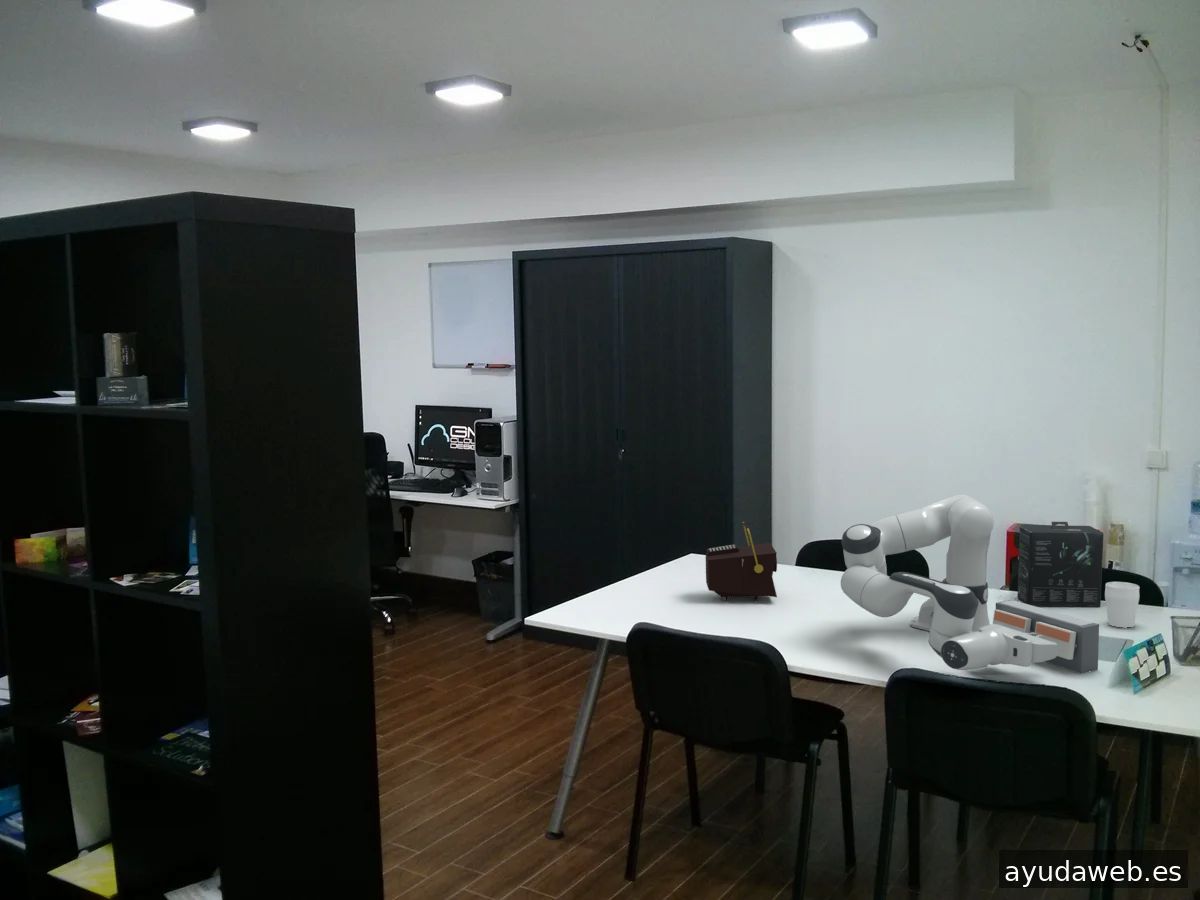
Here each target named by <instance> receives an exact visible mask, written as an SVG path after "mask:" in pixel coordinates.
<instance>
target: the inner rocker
mask: <svg viewBox="0 0 1200 900" xmlns="http://www.w3.org/2000/svg"><path fill="white" fill-rule="evenodd" d="M993 612H994V613H993V618H992V624H998V625H1001V626H1004V627H1007V628H1010V629H1014V630H1017V631H1020V632H1023V633H1032V631H1030V626H1031V619H1029V618H1026V617H1022V616H1019V615H1015V614H1012V613H1009V612H1005V611H1002V610H996V609H994V611H993Z"/></svg>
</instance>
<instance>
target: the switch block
mask: <svg viewBox="0 0 1200 900" xmlns="http://www.w3.org/2000/svg"><path fill="white" fill-rule="evenodd" d="M995 610H1002V611H1005V612H1009V613H1012V614H1015V615H1019V616H1022V617H1026V618H1029V619H1031V626H1030V631H1032V633H1033V632H1034V633H1035V628H1036V622H1043V623H1046V624H1050V625H1053V626H1056V627H1060V628H1063V629H1067V630H1070V631H1074V632H1076V639H1075V644H1076V645H1077V648H1075V647H1074V653H1073V659H1070V660H1068V659H1065V658H1062V657H1059V656H1056V658H1054V659H1051V660H1048V661H1044V663H1045V662H1046V663H1047V664H1051V665H1054V666H1057V667H1059V668H1060V667H1061V668H1063V669H1066V670H1069V671H1072V672H1075V673H1078V674H1081V675H1083V674H1086V672H1087V673H1090V672H1089V671H1091V672H1093V671H1094V670H1095V671H1098V670H1099V639H1100V623H1095V622H1094V621H1090V620H1085V619H1083V618H1078V617H1075V616H1072V615H1067V614H1065V613H1064V614H1063V613H1061V612H1057V611H1053V610H1049V609H1046V608H1042V607H1040V606H1032V605H1028V604H1025V603H1023V602H1022V601H1016V600H1013V599H1010V600H1004V601H1000V602H995ZM1095 671H1094V672H1095ZM1082 673H1083V674H1082Z"/></svg>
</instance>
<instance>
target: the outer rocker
mask: <svg viewBox="0 0 1200 900" xmlns="http://www.w3.org/2000/svg"><path fill="white" fill-rule="evenodd" d="M1035 633H1037V634H1040V635H1043V636H1044V639H1045V640H1048V641H1052V642H1055V643H1056V644H1057V656H1059V657H1062V658H1065V659H1068V660H1070V659H1073V653H1074V647H1075V648H1077V645H1076V644H1075V639H1076V632H1074V631H1070V630H1067V629H1063V628H1060V627H1056V626H1053V625H1050V624H1046V623H1043V622H1036V628H1035Z"/></svg>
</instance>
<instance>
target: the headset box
mask: <svg viewBox="0 0 1200 900" xmlns="http://www.w3.org/2000/svg"><path fill="white" fill-rule="evenodd" d="M1018 539H1019V543H1018V567H1017V569H1018V571H1017V599H1018V600H1019V601H1020V602H1021V603H1025V604H1028V605H1032V606H1035V607H1075V606H1078V607H1081V608H1083V607H1084V608H1101V603H1102V600H1101V599H1102V578H1103V577H1102V575H1103V557H1104V556H1103V555H1104V554H1103V553H1104V532H1103V531H1101V530H1099V529H1096V528H1094V527H1093V526H1091V525H1069V523H1068V521H1051V525H1050V524H1049V525H1046V524H1036V525H1035V524H1027V525H1026V524H1020V526H1019V536H1018Z"/></svg>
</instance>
